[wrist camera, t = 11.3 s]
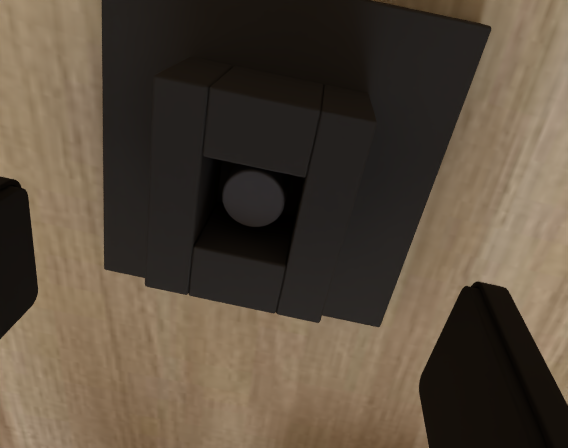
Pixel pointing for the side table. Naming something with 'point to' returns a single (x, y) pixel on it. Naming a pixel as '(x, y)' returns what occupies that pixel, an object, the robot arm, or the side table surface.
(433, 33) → the base pad
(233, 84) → the small black rectangular frame
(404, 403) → the side table surface
